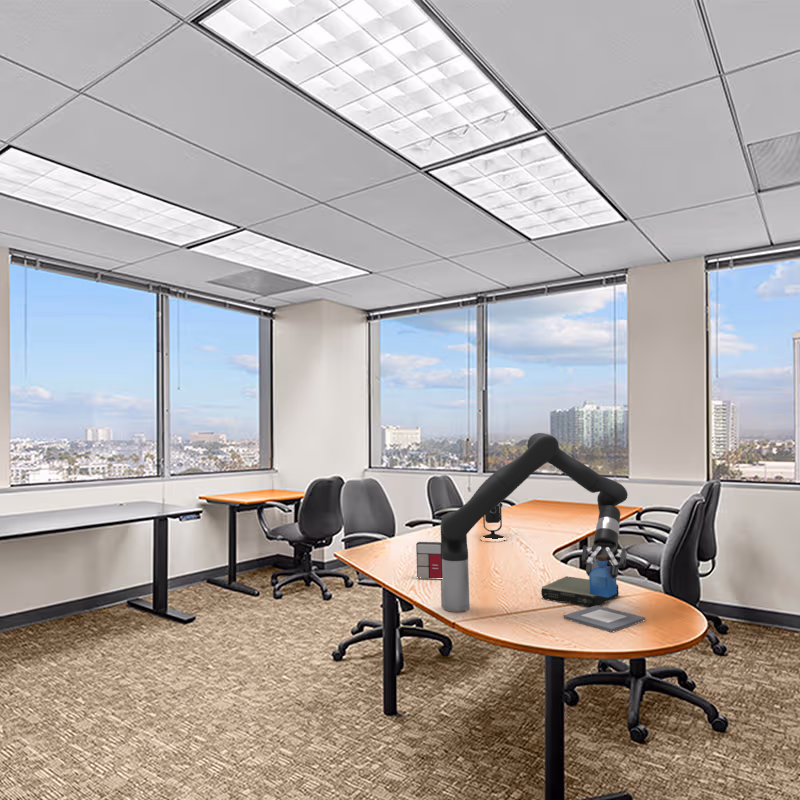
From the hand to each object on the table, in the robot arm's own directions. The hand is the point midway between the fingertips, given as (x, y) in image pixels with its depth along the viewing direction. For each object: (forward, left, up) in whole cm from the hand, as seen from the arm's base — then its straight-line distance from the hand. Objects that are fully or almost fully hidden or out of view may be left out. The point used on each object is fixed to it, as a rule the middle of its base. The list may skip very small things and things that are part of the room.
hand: (601, 576), depth 192 cm
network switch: (-21, +17, -15) cm, 31 cm away
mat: (0, +1, -14) cm, 14 cm away
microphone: (-128, +80, -14) cm, 152 cm away
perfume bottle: (0, +1, -6) cm, 6 cm away
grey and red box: (-80, -6, -14) cm, 82 cm away
